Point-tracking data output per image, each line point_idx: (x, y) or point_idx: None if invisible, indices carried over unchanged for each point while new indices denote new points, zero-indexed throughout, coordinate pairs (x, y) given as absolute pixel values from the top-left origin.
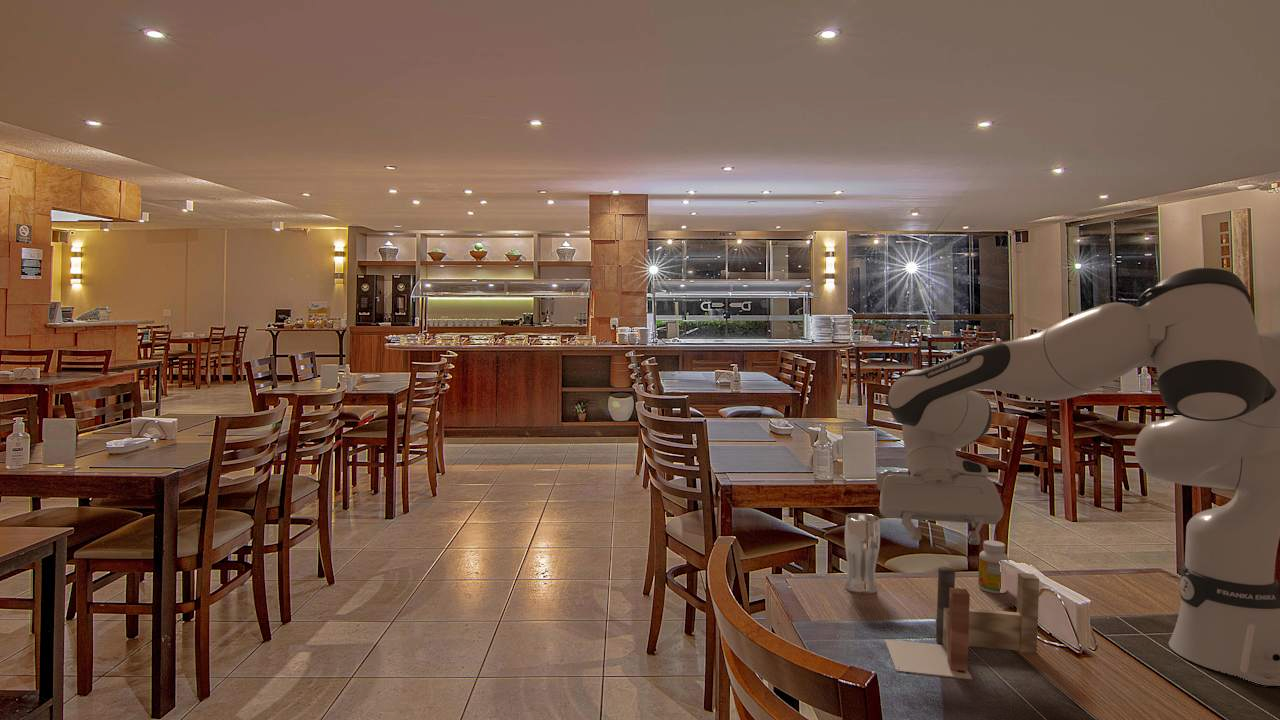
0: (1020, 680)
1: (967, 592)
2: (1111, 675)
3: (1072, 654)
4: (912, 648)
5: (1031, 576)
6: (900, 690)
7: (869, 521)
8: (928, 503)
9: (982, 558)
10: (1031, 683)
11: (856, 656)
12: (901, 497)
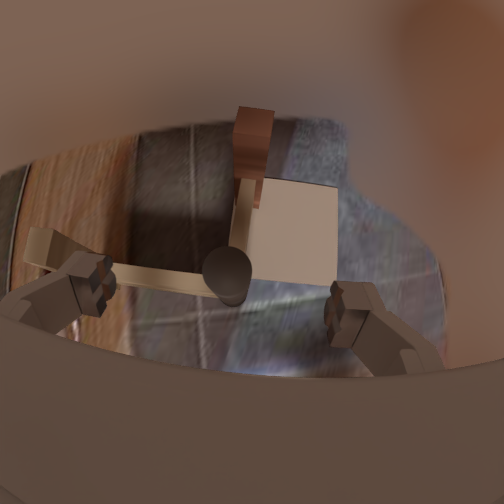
0: (170, 182)
1: (238, 116)
2: (56, 214)
3: None
4: (298, 257)
5: (34, 241)
6: (338, 148)
7: None
8: (309, 439)
9: None
10: (160, 176)
11: (381, 228)
12: (501, 434)
